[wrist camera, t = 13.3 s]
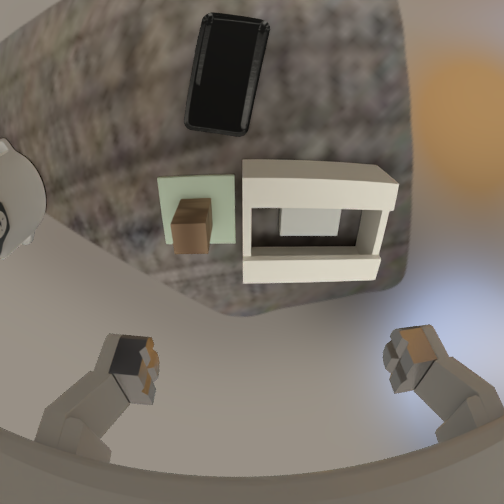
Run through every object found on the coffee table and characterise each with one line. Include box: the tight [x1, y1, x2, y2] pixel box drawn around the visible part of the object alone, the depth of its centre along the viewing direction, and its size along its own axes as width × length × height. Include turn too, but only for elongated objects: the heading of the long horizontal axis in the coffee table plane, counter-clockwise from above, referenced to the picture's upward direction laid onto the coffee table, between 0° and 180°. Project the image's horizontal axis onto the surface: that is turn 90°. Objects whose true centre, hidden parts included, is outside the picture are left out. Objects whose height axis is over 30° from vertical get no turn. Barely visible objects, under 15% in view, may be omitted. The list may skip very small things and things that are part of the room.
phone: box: [184, 13, 270, 137], centre depth 31 cm, size 8×1×15 cm
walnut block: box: [170, 198, 213, 254], centre depth 37 cm, size 4×4×7 cm
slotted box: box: [242, 159, 399, 283], centre depth 38 cm, size 18×14×7 cm
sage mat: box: [157, 174, 236, 244], centre depth 41 cm, size 10×10×1 cm
